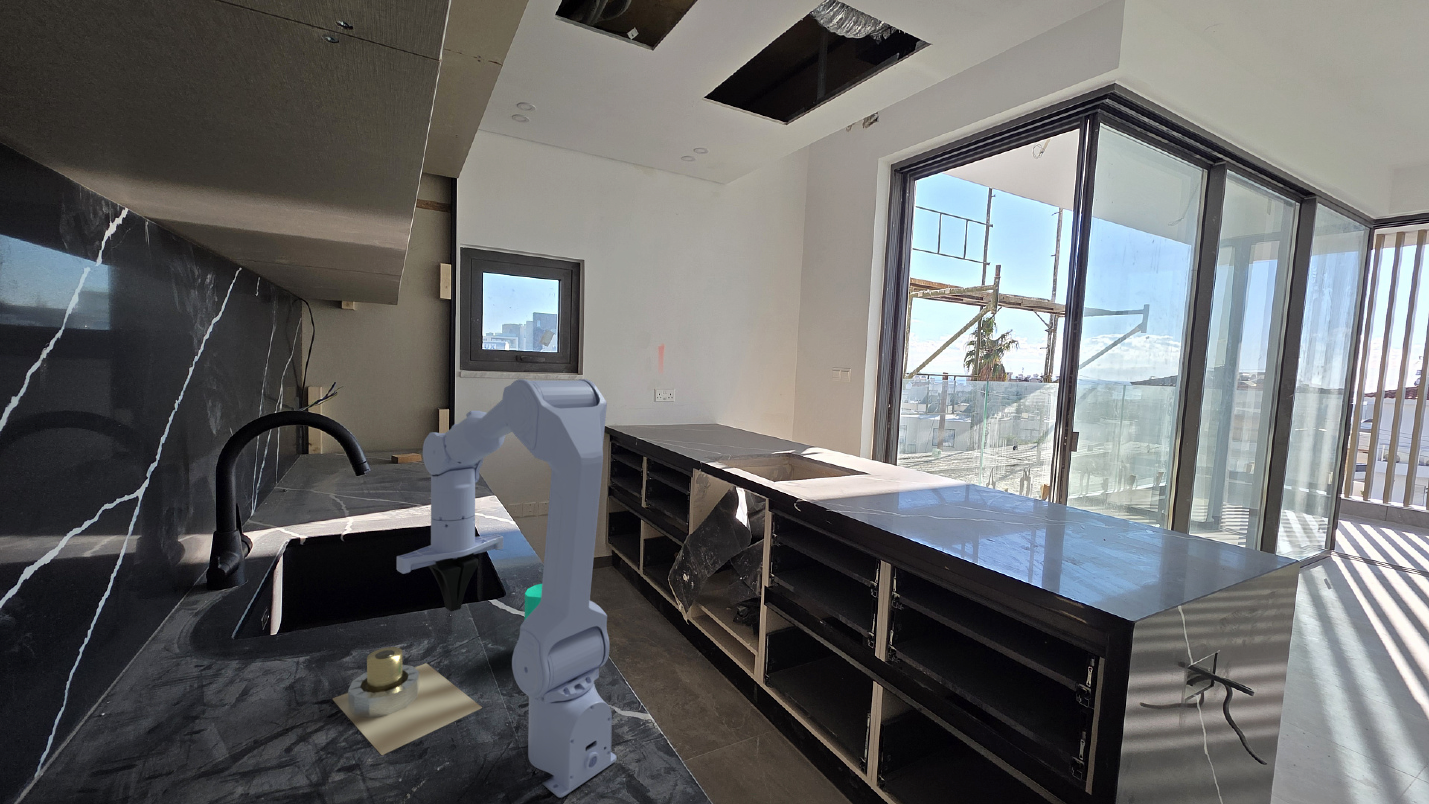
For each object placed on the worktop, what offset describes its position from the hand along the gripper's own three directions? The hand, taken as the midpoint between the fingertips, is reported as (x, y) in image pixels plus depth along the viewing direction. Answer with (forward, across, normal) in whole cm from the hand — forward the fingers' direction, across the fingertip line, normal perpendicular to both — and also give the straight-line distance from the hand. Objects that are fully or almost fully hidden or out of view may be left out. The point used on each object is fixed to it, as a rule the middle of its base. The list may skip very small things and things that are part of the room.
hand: (453, 608), depth 82 cm
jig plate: (+10, +8, +4) cm, 13 cm away
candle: (+10, -12, +5) cm, 16 cm away
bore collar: (+10, +10, +1) cm, 14 cm away
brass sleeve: (+9, +10, +1) cm, 13 cm away
